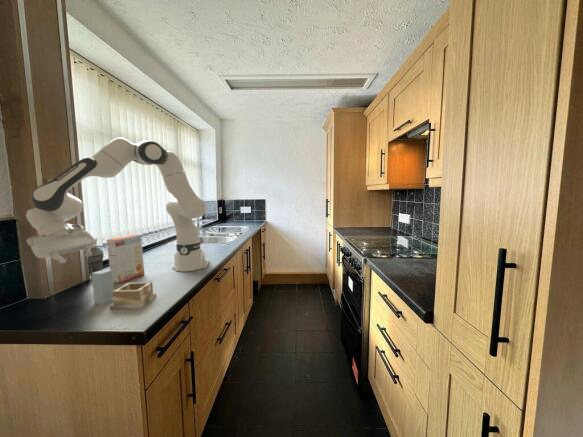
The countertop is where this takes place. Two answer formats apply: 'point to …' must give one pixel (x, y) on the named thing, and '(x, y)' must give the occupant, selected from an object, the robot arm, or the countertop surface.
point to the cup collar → (132, 295)
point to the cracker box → (125, 257)
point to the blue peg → (103, 286)
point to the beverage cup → (95, 259)
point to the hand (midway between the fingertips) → (77, 258)
